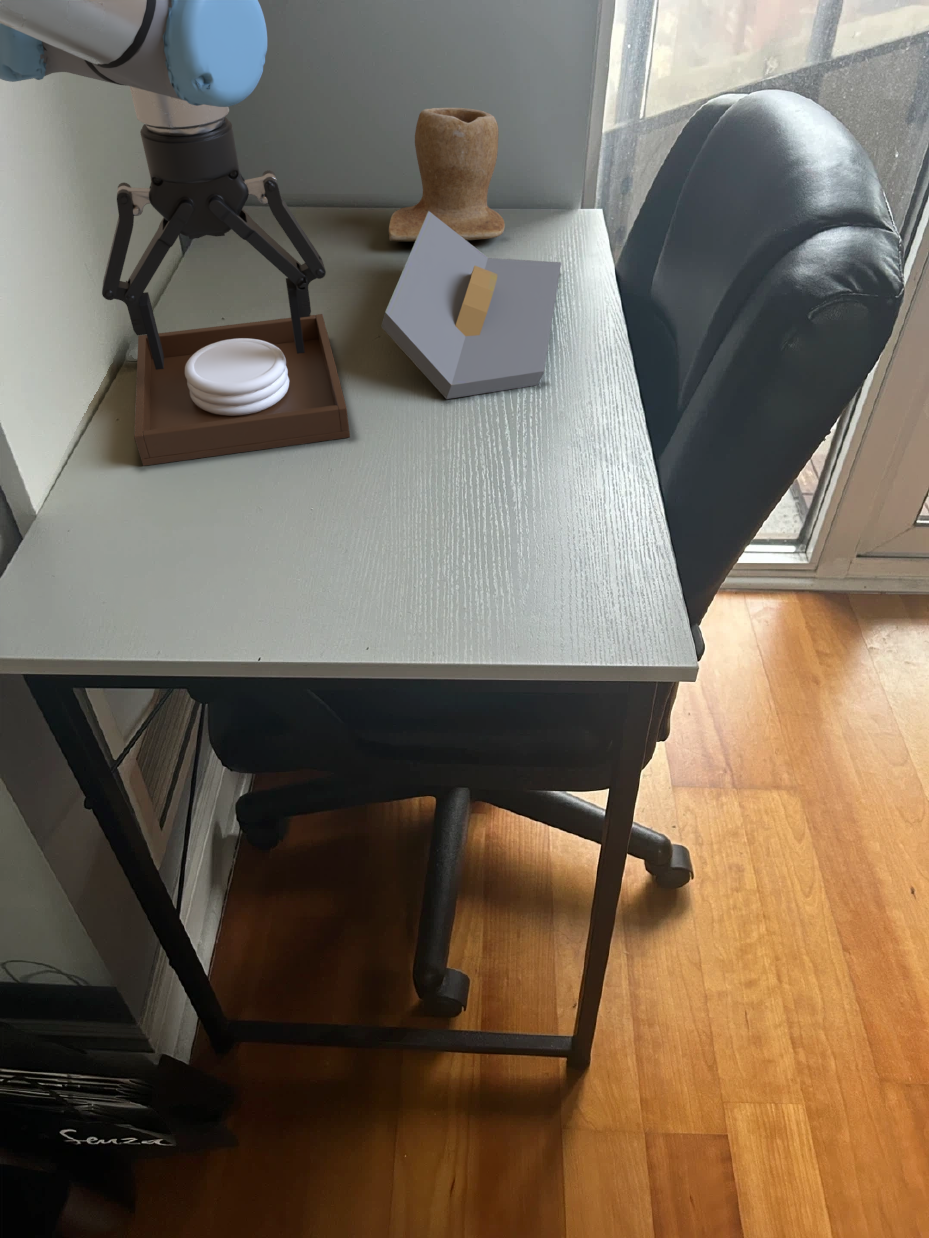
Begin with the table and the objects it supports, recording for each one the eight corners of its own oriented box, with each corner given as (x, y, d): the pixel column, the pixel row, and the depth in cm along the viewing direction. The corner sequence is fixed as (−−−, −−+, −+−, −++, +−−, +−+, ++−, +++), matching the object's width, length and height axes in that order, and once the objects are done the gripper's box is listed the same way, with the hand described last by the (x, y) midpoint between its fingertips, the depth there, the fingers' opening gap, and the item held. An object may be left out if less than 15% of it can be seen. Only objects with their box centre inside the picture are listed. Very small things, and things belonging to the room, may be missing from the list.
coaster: (174, 412, 94) (165, 380, 91) (216, 362, 100) (209, 331, 98) (268, 423, 92) (262, 392, 89) (304, 372, 99) (299, 341, 96)
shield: (524, 429, 97) (547, 296, 118) (543, 386, 93) (563, 257, 114) (365, 371, 95) (417, 246, 116) (378, 325, 91) (430, 205, 112)
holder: (143, 466, 88) (133, 436, 86) (145, 363, 102) (138, 335, 100) (350, 437, 91) (346, 408, 89) (325, 341, 105) (322, 313, 103)
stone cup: (500, 214, 130) (501, 94, 119) (507, 250, 121) (509, 124, 111) (390, 217, 129) (382, 97, 119) (389, 254, 121) (380, 128, 110)
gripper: (329, 97, 83) (350, 323, 97) (32, 118, 79) (101, 351, 94) (340, 123, 77) (361, 358, 92) (22, 147, 74) (97, 389, 88)
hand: (230, 355), depth 93 cm, fingers open, 13 cm apart
